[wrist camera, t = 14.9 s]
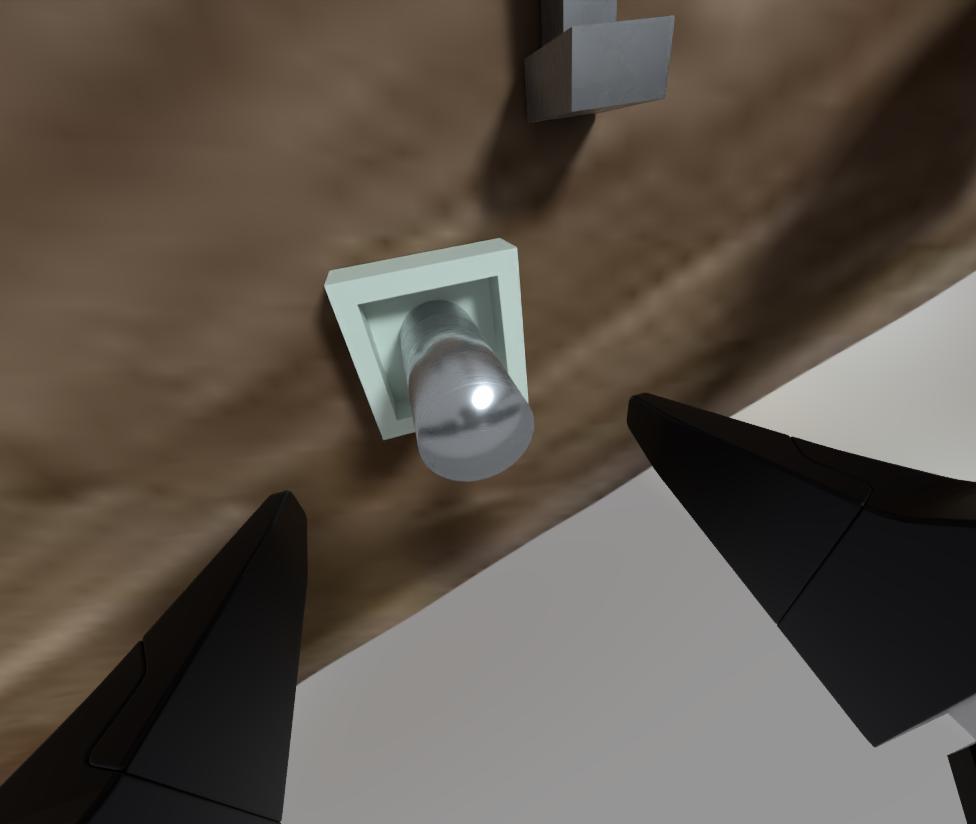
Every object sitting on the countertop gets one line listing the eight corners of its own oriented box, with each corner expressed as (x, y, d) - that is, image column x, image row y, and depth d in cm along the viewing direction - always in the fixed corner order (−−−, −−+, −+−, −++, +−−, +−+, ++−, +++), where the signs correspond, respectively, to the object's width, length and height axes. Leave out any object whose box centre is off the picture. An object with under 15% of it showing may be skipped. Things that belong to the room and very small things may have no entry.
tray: (499, 237, 14) (516, 247, 13) (513, 380, 18) (528, 402, 17) (329, 270, 13) (324, 285, 12) (382, 413, 17) (383, 439, 16)
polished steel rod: (469, 292, 15) (530, 371, 9) (480, 362, 17) (536, 463, 11) (389, 309, 14) (403, 403, 9) (410, 379, 16) (432, 493, 10)
